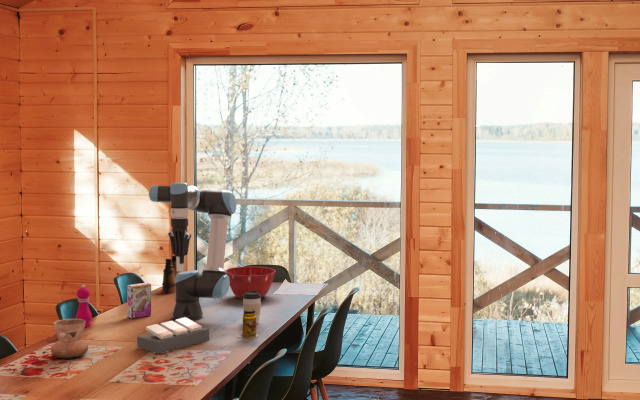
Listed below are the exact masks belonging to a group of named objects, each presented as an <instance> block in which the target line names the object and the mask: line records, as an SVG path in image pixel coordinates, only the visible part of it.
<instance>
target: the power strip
mask: <svg viewBox="0 0 640 400" xmlns="http://www.w3.org/2000/svg"><path fill="white" fill-rule="evenodd" d="M136 339H137V340H136V346H137V347H138V348H137V347H136V348H137V349H139V348H141V349H140V350H142V349H145V350H144V351H146V350H147V351H146V352H149V351H151V352H150V353H153V352H155V353H154V354H156V353H158V355H160V354H159V353H161V354H163V353H162V352H164V353H167V352H166V351H168V352H171V350H172V351H174V350H175V351H176V350H179V349H182V347H183V348H185V347H190V346H194V345H197V344H200V343H204V342H208V341H210V328H207V327H203V326H202V329H201V330H197V331H193V332H190V331H188V333H185V334H181V335H177V336H176V335H175V334H173V337H170V338H166V339H162V340H161V339H160V338H158V337H157V336H152V333H150V332H149V333H146V334H142V335H138V336H137V337H136Z"/></svg>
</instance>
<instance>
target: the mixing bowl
mask: <svg viewBox="0 0 640 400" xmlns="http://www.w3.org/2000/svg"><path fill="white" fill-rule="evenodd" d="M224 270H225V271H226V275H227V276H229V281H230V284H229V288H230V290H231V291H232V294H234V296H235V297H237V298H238V299H240V300H243V298H242V297H243V295H244V294H245V292H250V291H256V292H258V293H259V294H260V295H261V299H262V298H263V297H265V296H266V295H267V294H268V293H269V290H270V289H271V286H272V284H273V280H274V278H275V273H276V270H275V269H274V268H269V267H264V266H237V267H235V266H234V267H230V268H227V269H224Z"/></svg>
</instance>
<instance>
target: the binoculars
mask: <svg viewBox="0 0 640 400" xmlns="http://www.w3.org/2000/svg"><path fill="white" fill-rule="evenodd" d="M162 272H163V273H162V274H163V275H162V288H161V294H164V295H171V294H172V295H173V294H175V276H176V275H177V274H178V273H180V272H181V271H177V263H176V256H175V255H172V256H171V258H165V265H164V269H163V271H162Z"/></svg>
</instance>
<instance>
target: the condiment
mask: <svg viewBox="0 0 640 400" xmlns="http://www.w3.org/2000/svg"><path fill="white" fill-rule="evenodd" d="M242 315H243V316H242V332H241V333H240V334H239V335H237V336H236V338H243V339H255V338H257V337H258V336H260V333H259V334H258V333H257V324H256V316H255V310H253V309H246V310H243V314H242Z"/></svg>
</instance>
